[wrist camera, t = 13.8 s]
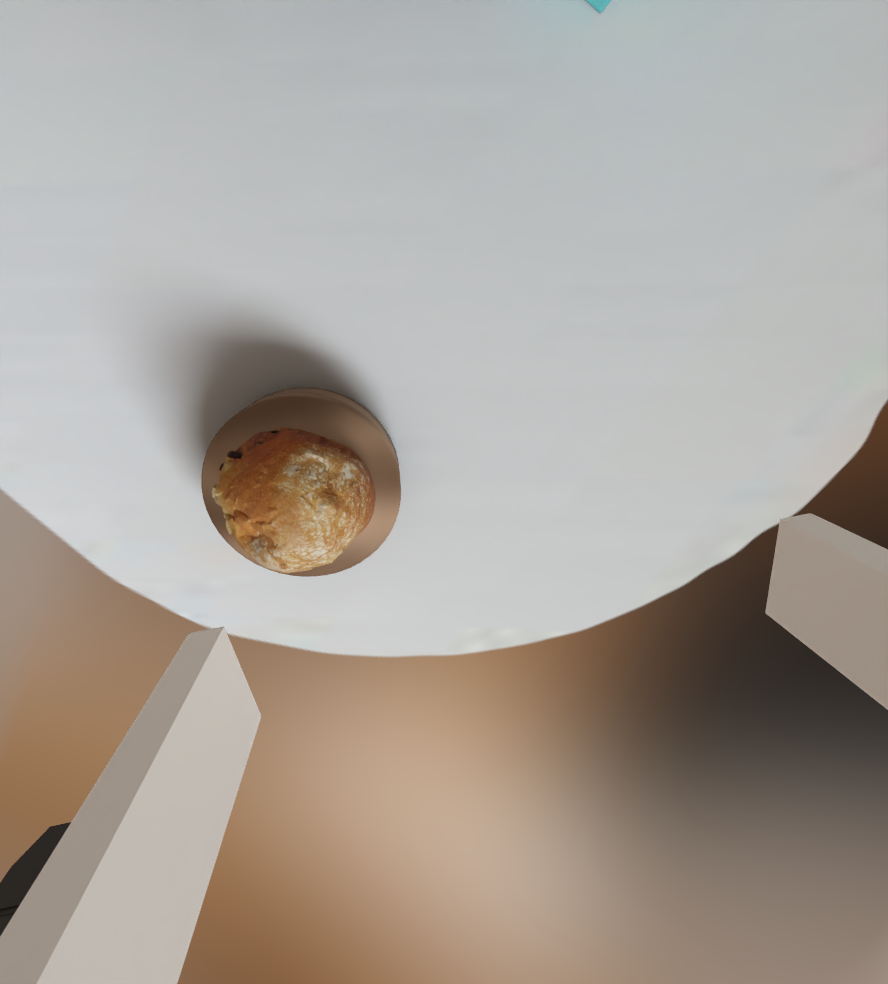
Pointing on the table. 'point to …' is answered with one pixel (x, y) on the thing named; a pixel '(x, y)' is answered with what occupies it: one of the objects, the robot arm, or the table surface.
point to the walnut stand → (333, 422)
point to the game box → (598, 4)
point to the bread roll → (294, 498)
